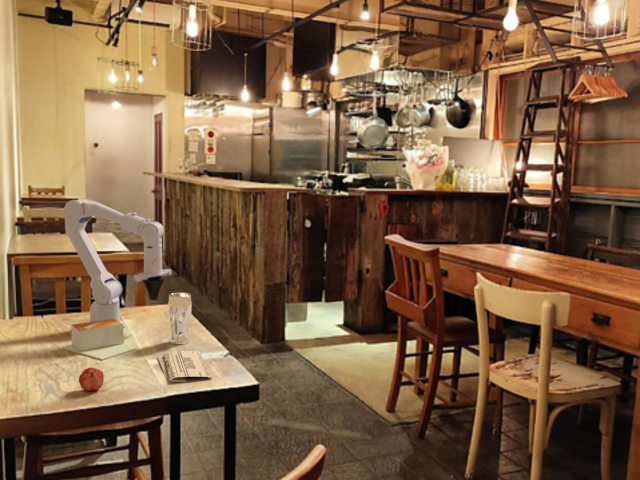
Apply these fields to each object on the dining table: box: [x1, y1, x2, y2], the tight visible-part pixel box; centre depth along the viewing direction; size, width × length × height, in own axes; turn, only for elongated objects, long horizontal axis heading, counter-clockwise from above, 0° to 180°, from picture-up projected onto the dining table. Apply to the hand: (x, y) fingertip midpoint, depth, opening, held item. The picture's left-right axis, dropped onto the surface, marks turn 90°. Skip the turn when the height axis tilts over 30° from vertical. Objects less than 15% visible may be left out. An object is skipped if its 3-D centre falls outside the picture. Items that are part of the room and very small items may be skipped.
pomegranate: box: [78, 366, 105, 392], centre depth 141 cm, size 6×6×8 cm
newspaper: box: [157, 350, 212, 383], centre depth 157 cm, size 23×12×2 cm, turn 19°
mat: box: [62, 343, 137, 361], centre depth 171 cm, size 18×12×1 cm, turn 59°
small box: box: [70, 318, 125, 351], centre depth 174 cm, size 8×6×13 cm
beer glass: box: [167, 292, 192, 346], centre depth 179 cm, size 7×7×15 cm
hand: (153, 299), depth 191 cm, fingers closed
